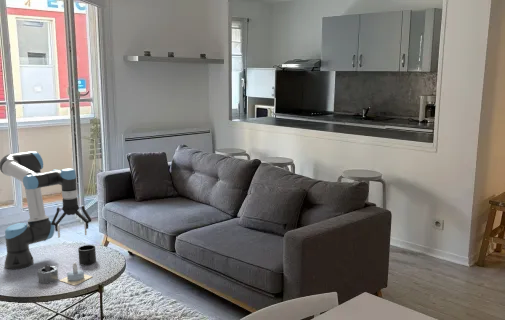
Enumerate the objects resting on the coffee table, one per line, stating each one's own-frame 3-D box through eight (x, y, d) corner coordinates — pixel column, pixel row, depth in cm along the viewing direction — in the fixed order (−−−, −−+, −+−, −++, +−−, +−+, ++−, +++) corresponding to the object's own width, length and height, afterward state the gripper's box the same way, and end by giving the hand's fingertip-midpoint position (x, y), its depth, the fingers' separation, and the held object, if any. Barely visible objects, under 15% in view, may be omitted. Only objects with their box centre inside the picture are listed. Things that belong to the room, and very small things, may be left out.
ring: (35, 281, 258) (34, 270, 257) (50, 275, 266) (49, 264, 265) (46, 285, 254) (45, 274, 253) (61, 278, 262) (60, 268, 261)
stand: (41, 280, 259) (40, 266, 258) (49, 277, 263) (48, 263, 262) (47, 282, 257) (46, 268, 255) (55, 279, 261) (54, 265, 259)
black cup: (82, 268, 275) (81, 253, 274) (77, 261, 285) (76, 247, 284) (99, 264, 281) (98, 249, 279) (93, 258, 290) (92, 243, 289)
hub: (59, 280, 259) (57, 264, 257) (77, 272, 269) (76, 257, 267) (74, 285, 253) (73, 269, 251) (92, 277, 263) (91, 261, 261)
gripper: (43, 201, 250) (46, 240, 254) (94, 197, 257) (96, 235, 261) (45, 197, 257) (48, 235, 261) (94, 194, 264) (96, 231, 268)
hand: (72, 235), depth 261 cm, fingers open, 13 cm apart
